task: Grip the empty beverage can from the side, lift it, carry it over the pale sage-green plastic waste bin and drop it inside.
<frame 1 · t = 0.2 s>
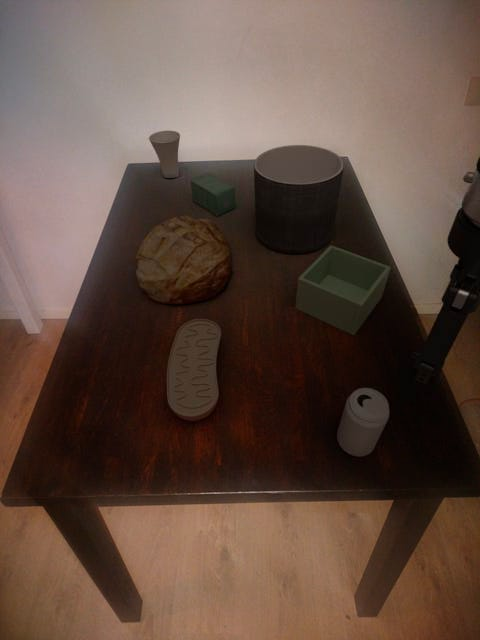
hand: (434, 355, 52), 21 cm above the table, tool pointing down, fingers open, 13 cm apart
anatomical model: (197, 377, 76), on the table
bread: (187, 273, 99), on the table
cup: (171, 175, 138), on the table
waste bin: (338, 302, 89), on the table
planter: (293, 232, 110), on the table
box: (214, 205, 122), on the table
beverage can: (355, 441, 66), on the table
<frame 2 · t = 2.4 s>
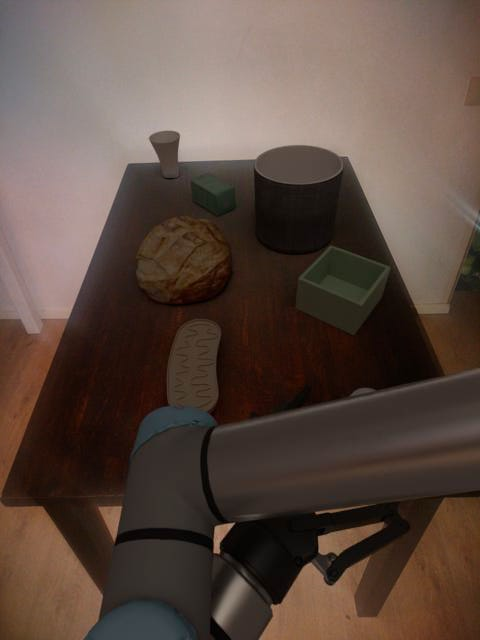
hand: (353, 421, 47), 19 cm above the table, tool horizontal, fingers open, 13 cm apart
nothing on the table moved.
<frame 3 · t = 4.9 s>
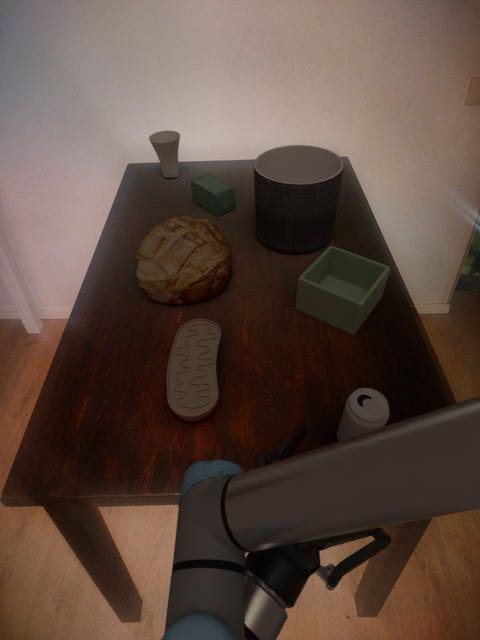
hand: (344, 451, 58), 6 cm above the table, tool horizontal, fingers open, 13 cm apart
nothing on the table moved.
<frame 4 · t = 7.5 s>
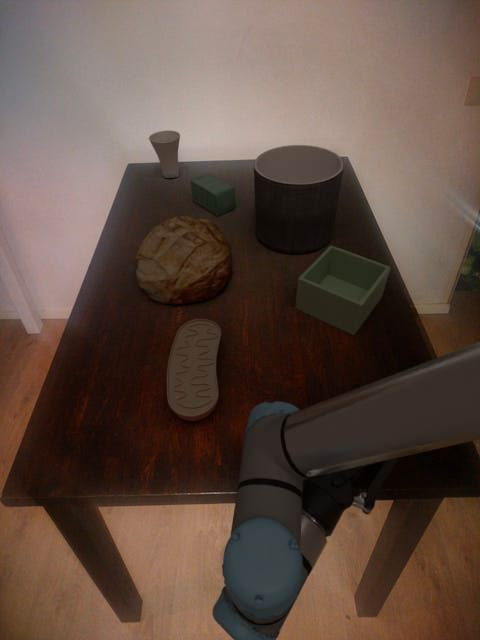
hand: (375, 399, 63), 7 cm above the table, tool horizontal, fingers closed on beverage can, 6 cm apart
beverage can: (355, 441, 66), on the table, touching gripper
everything else where it was.
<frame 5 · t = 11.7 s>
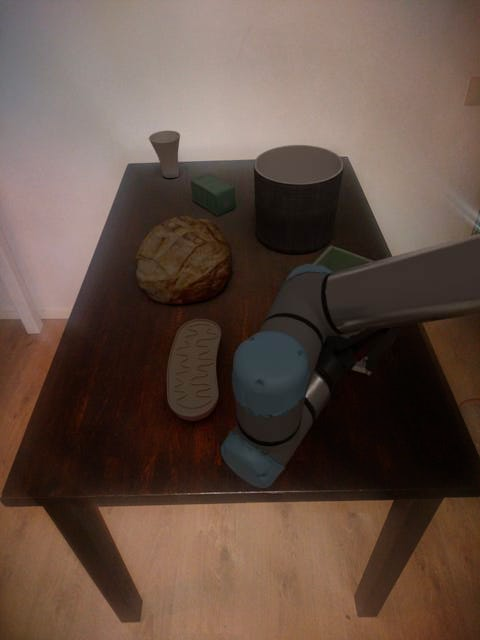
hand: (375, 289, 65), 18 cm above the table, tool horizontal, fingers closed on beverage can, 6 cm apart
beverage can: (355, 333, 67), point 11 cm above the table, touching gripper
everything else where it was.
when the fingers open (14 cm above the table, at t = 15.8 s): beverage can drops 6 cm, resting on waste bin.
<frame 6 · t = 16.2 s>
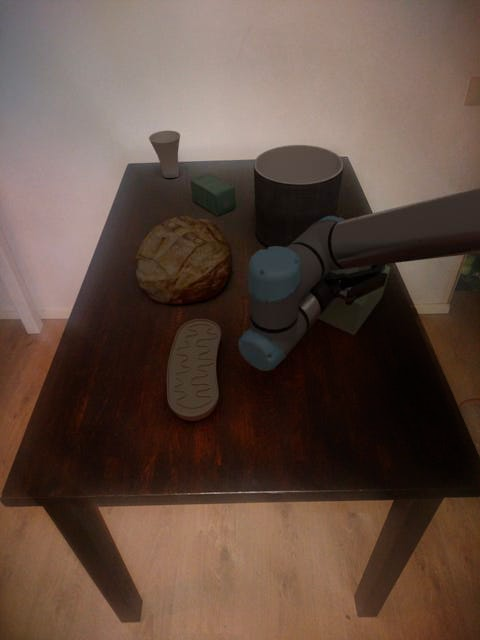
hand: (356, 243, 80), 14 cm above the table, tool horizontal, fingers open, 12 cm apart
beverage can: (339, 299, 88), point 1 cm above the table, touching waste bin
everything else where it was.
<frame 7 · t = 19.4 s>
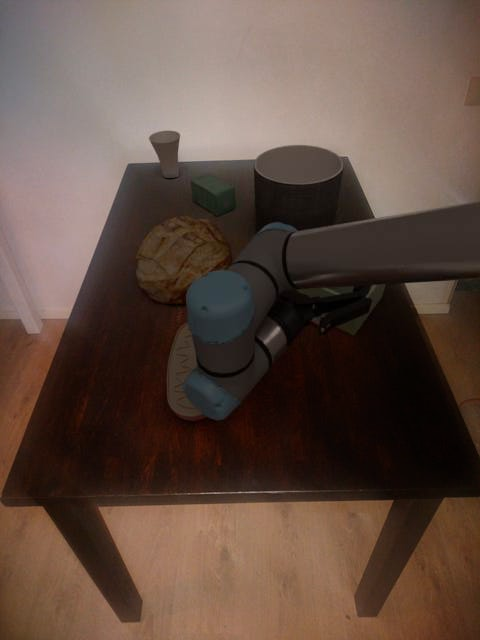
hand: (335, 259, 69), 20 cm above the table, tool horizontal, fingers open, 13 cm apart
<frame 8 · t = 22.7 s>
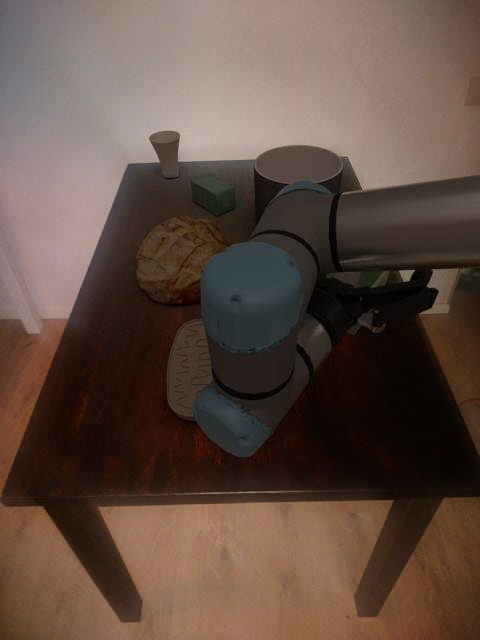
hand: (381, 241, 54), 30 cm above the table, tool horizontal, fingers open, 13 cm apart
nothing on the table moved.
at the end: beverage can inside the target area in the waste bin (0.1 cm from its centre), point 0.8 cm above the waste bin's base; the gripper is holding nothing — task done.
